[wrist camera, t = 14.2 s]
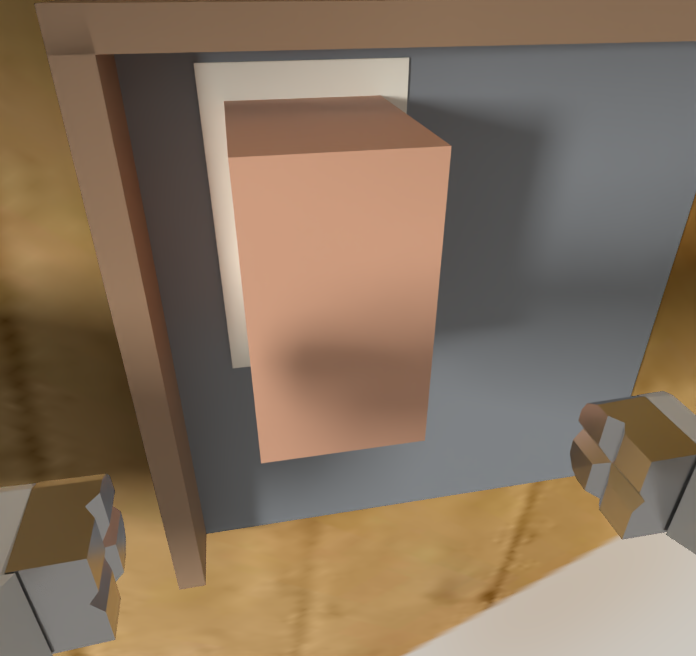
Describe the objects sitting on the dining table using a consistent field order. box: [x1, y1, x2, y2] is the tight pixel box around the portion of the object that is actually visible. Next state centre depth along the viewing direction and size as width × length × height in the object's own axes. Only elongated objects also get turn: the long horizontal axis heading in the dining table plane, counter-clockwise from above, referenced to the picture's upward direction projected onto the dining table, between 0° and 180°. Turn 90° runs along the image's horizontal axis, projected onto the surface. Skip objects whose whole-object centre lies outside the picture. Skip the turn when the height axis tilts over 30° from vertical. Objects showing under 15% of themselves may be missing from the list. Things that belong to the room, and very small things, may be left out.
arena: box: [34, 0, 696, 590], centre depth 20 cm, size 20×20×3 cm
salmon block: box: [224, 95, 452, 463], centre depth 16 cm, size 8×4×6 cm, turn 0°
